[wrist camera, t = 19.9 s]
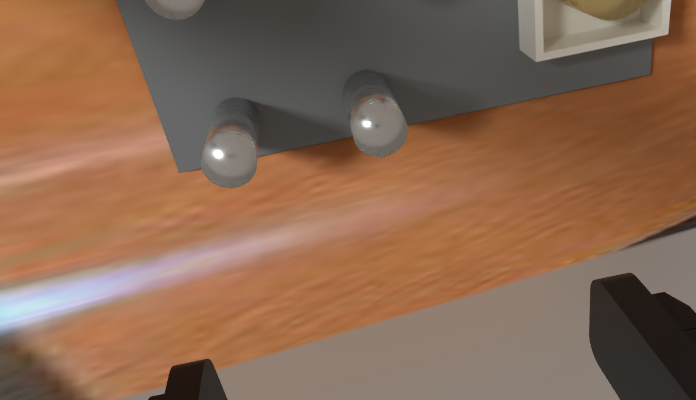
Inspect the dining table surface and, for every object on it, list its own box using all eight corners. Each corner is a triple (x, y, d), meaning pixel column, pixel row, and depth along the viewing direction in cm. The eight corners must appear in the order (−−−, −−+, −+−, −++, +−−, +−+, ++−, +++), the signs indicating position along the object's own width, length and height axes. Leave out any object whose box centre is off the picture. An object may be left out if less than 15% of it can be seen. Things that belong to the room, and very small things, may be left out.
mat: (93, -71, 35) (90, -70, 34) (664, -192, 35) (669, -192, 34) (180, 169, 43) (179, 172, 42) (646, 72, 42) (650, 74, 42)
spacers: (156, -56, 35) (130, -40, 29) (359, -99, 35) (376, -92, 29) (220, 145, 42) (210, 192, 35) (392, 109, 41) (410, 151, 35)
